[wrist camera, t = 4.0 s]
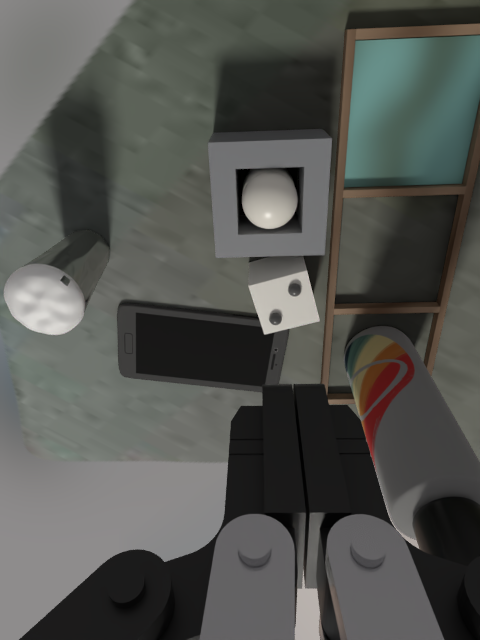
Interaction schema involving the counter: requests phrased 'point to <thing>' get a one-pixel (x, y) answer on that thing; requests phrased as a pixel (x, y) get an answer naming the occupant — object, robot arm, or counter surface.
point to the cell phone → (198, 347)
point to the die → (282, 293)
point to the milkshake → (58, 283)
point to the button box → (270, 152)
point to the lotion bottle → (415, 445)
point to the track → (406, 144)
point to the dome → (269, 197)
